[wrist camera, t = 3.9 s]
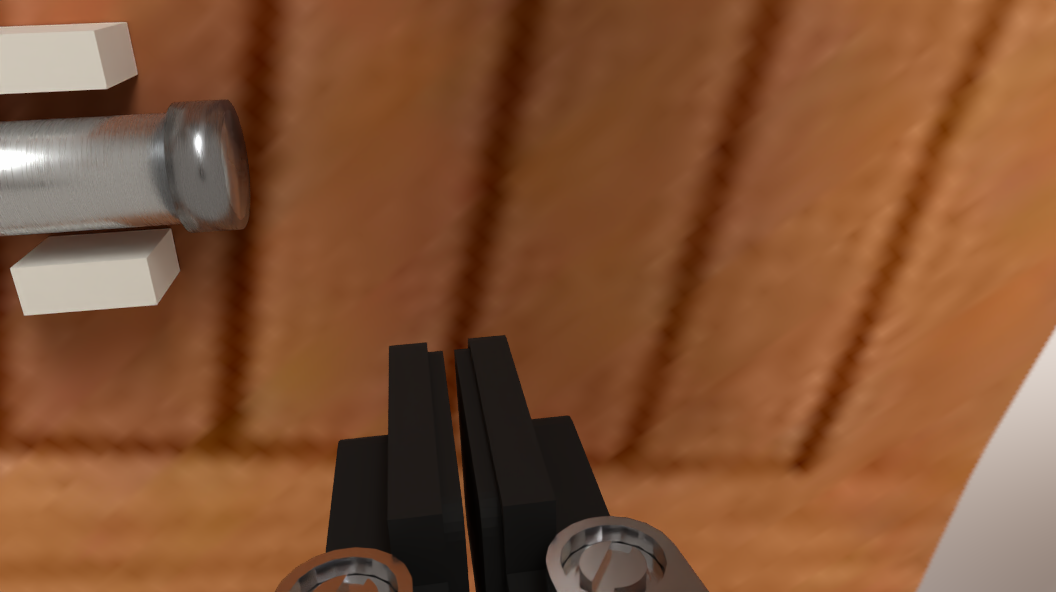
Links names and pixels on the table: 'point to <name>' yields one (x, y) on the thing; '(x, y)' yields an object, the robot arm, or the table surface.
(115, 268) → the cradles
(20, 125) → the slip tube
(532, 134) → the table surface
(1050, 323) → the table surface
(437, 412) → the robot arm
